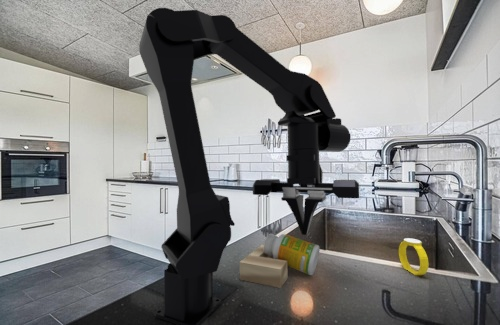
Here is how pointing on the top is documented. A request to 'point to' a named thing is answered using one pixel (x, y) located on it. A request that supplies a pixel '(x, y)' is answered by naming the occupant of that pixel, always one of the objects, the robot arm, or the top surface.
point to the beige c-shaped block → (263, 269)
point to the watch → (421, 254)
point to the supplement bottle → (293, 252)
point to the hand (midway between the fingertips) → (304, 234)
